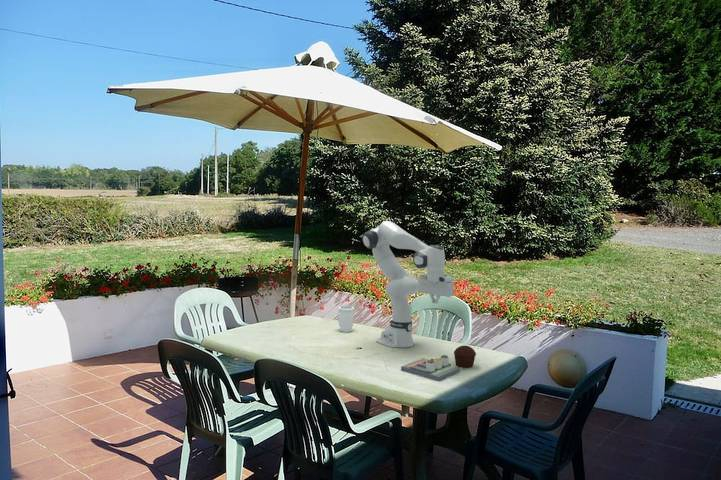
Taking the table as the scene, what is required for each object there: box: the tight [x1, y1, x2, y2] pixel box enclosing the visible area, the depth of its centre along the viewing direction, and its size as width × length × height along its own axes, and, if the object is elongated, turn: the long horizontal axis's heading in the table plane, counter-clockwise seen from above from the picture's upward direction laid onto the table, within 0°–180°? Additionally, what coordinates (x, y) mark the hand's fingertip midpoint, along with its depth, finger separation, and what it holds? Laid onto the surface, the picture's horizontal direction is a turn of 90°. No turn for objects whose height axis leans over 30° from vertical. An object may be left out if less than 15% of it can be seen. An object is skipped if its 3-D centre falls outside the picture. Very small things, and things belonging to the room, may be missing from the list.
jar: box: [337, 305, 355, 333], centre depth 336 cm, size 11×10×15 cm
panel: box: [400, 358, 461, 382], centre depth 260 cm, size 22×19×3 cm
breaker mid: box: [433, 357, 442, 369], centre depth 257 cm, size 3×3×5 cm
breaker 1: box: [426, 359, 435, 372], centre depth 253 cm, size 3×3×5 cm
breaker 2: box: [439, 354, 450, 366], centre depth 261 cm, size 3×3×5 cm
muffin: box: [453, 345, 477, 369], centre depth 269 cm, size 12×11×10 cm
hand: (435, 303), depth 273 cm, fingers closed
